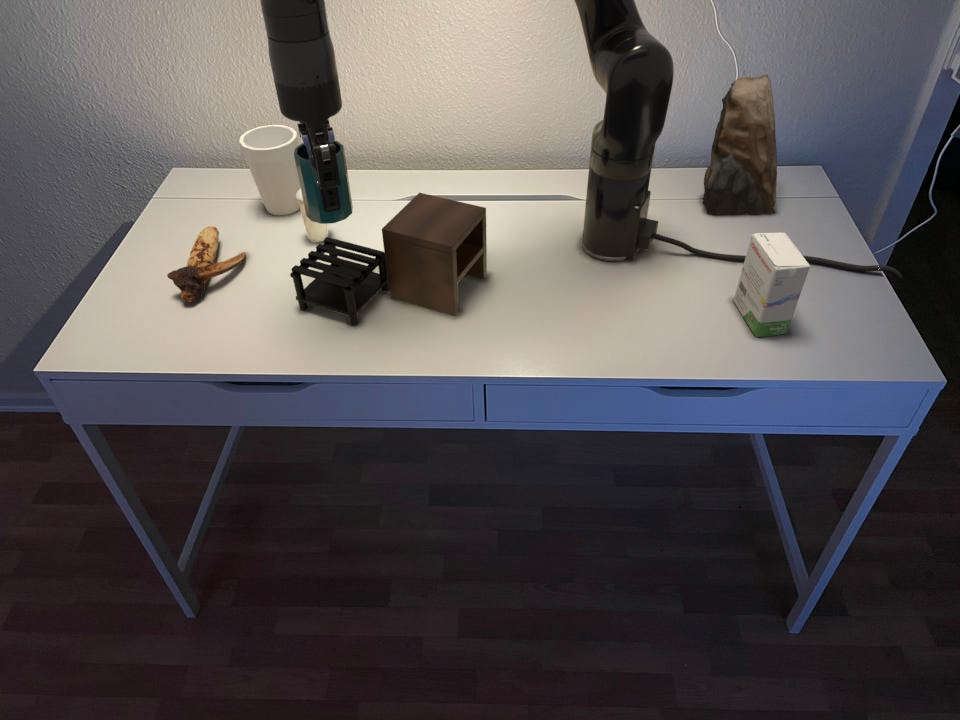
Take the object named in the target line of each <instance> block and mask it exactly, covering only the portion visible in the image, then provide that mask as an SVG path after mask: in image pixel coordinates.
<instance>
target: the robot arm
mask: <svg viewBox="0 0 960 720" xmlns="http://www.w3.org/2000/svg"><path fill="white" fill-rule="evenodd" d="M259 1H260V8H261V13H262V17H263V22H264V27H265V32H266V38H267V47H268V57H269V58H268V59H269V63H270V67H271V72H272V77H273V82H274V87H275V91H276V96H277V101H278V106H279V112H280V113H281V114H282V116H283V117H284V118H286V119H287V120H290V121H293V122H298V123H297V124H296V126H297V131H298V135H299V137H300V142H301V144H303V147H304V148H305V149H306V151H307V155H308V159H309V162H310V166H311V168H313V169H315V171H316V176H317V185H319V188H320V193H321V199H322V204H323V208H324V211H325V212H332V211H337V210H339V209H340V208H341V205H340V199H339V193H338V186H341V185H340V183H341V180H340V178H339V171H338V164H337V163H338V160H337V155H336V150H335V149H336V146H335V145H334V140H335V141H336V137H335V133H334V132H335V131H334V129H333V127H332V126H331V124H330V118H332V117H335V116H336V115H338V113H340V111H342V110H341V109H342V107H343V100H342V93H341V87H340V80H339V74H338V66H337V60H336V59H337V58H336V53H335V52H336V51H335V47H334V44H333V41H332V37H331V32H330V28H329V27H330V26H329V20H328V13H327V8H326V1H325V0H259ZM573 1H574V3H575V7H576V9H577V11H578V16H579V20H580V23H581V28H582V31H583V35H584V36H583V37H584V40H585V44H586V49H587V54H588V59H589V62H590V68H591V71H592V74H593V77H594V79H595V80H596V81H595V82H596V83H597V84H598V86H599V87H600V88H601V89H602V90H603V91H604V93H605V94H606V96H605V104H604V111H603V118H602V120H600V121H598V122H597V123H596V124H595V125H594V127H593V129H592V133H591V143H590V152H589V153H590V154H589V164H588V174H587V175H588V177H587V186H586V197H585V208H584V219H583V227H582V228H583V229H582V237H581V243H580V244H581V249H582V250H583V251H584V252H585V253H586V254H587V255H588V256H590V257H592V258H594V259H597V260H600V261H604V262H622V261H628V262H633V261H634V260H635V258H636V257H637V255H638V253H639V251H640V250H643V251H649V249H650V247H651V245H652V243H653V241H654V240H656V241H660V242H664V243H666V244H670V245H673V246H676V247H679V248H682V249H683V250H685V251H687V252H689V253H691V254H693V255H697V256H699V257H700V256H701V257H705V258H709V259H710V258H711V259H714V260H715V259H716V260H721V261H736V262H744V261H745V257H746V255H740V254H727V253H718V252H711V251H706V250H702V249H698V248H696V247H693V246H692V245H689V244H687V243H686V242H683V241H681V240H678V239H675V238H672V237H668V236H665V235H661V234H658V233H657V232H658V226H659V220H655V219H651V218H648V214H649V213H648V212H649V207H650V201H651V195H652V192H651V190H649V186H650V180H651V174H652V167H653V162H654V161H653V160H654V156H655V149H656V144H657V141H658V139H659V138H660V136H661V134H662V132H663V130H664V128H665V123H666V119H667V113H668V108H669V105H670V104H669V103H670V98H671V95H672V90H673V82H674V71H675V69H674V68H675V66H674V60H673V57H672V54H671V52H670V51H669V49H668V48H667V47H666V46H665V45H664V44H663V43H661V41H660V40H658V39H657V38H656V37H655V36H654V35H652V34H651V33H650V32H649V31H648V29H647V28H646V26H645V24H644V21H643V19H642V18H641V15H640V13H639V10H638V6H637V4H636V1H635V0H573ZM313 158H315V160H316V161H315V160H314V159H313ZM327 172H332V175H331V176H325V177H323V174H324V173H327ZM802 256H803V257H804V258H805V260H806V261H807V262H808V263H815V264H819V265H820V264H821V265H825V266H830V267H835V268H840V269H844V270H851V271H857V272H887V273H889V274H891V275H892V276H893V277H895V278H896V279H903V275H902V273H900V272H899V270H897V269H896V268H894V267H892V266H890V265H885V264H882V265H881V264H880V265H879V264H874V265H873V264H872V265H859V264H854V263H848V262H842V261H837V260H833V259H827V258H823V257H816V256H809V255H802ZM878 266H879V267H878ZM879 268H880V269H879ZM878 269H879V270H878Z"/></svg>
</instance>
